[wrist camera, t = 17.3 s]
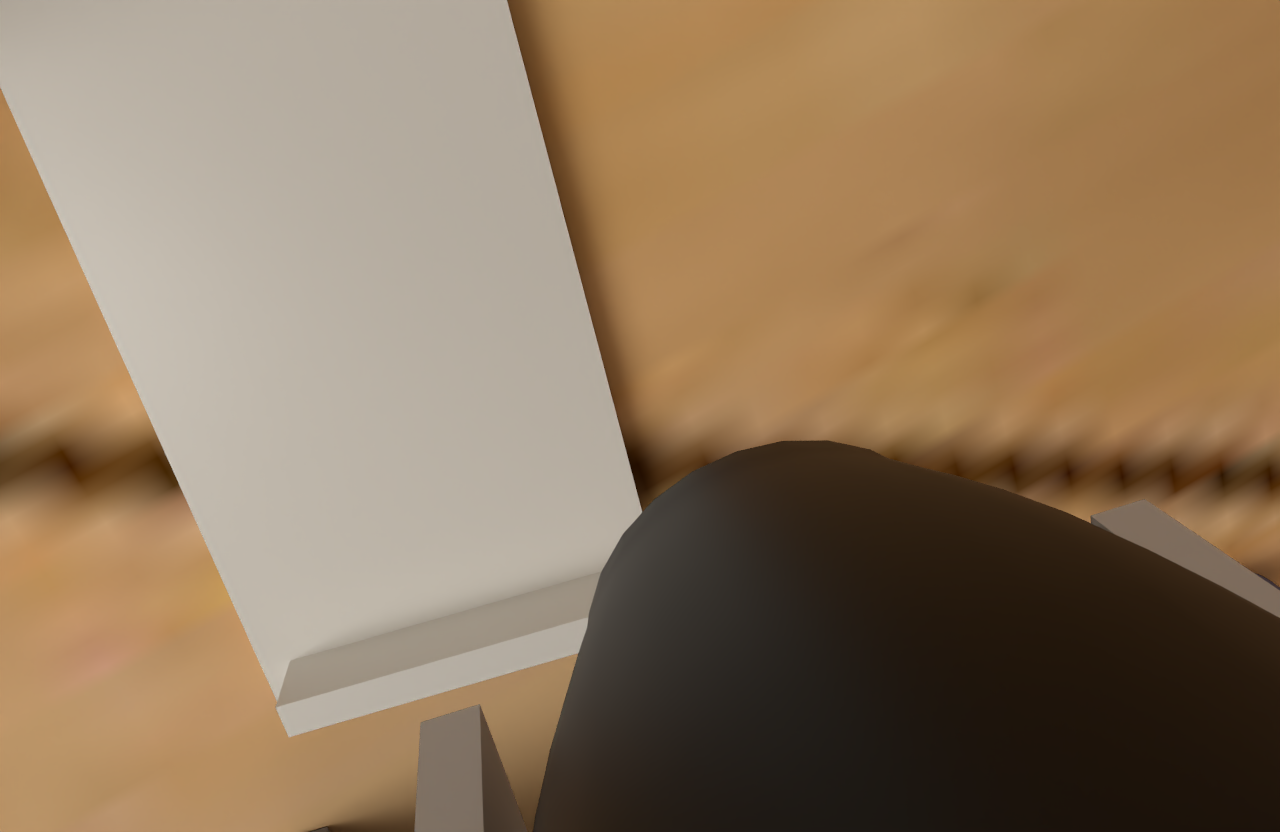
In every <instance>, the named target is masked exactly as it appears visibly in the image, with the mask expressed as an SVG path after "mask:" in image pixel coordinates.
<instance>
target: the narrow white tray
mask: <svg viewBox="0 0 1280 832" xmlns="http://www.w3.org/2000/svg"><path fill="white" fill-rule="evenodd" d="M0 88H1V90H2V92H3V94H4V97H5V99H6V101H7V103H8V105H9V108H10V110H11V112H12V114H13V117H14V119H15V121H16V123H17V125H18V128H19V130H20V132H21V134H22V137H23V139H24V141H25V143H26V145H27V148H28V150H29V152H30V154H31V156H32V159H33V161H34V163H35V165H36V168H37V170H38V172H39V174H40V176H41V179H42V181H43V183H44V185H45V188H46V190H47V192H48V194H49V196H50V199H51V201H52V203H53V205H54V208H55V210H56V212H57V214H58V216H59V219H60V221H61V223H62V225H63V228H64V230H65V232H66V234H67V236H68V239H69V241H70V243H71V245H72V247H73V250H74V252H75V254H76V256H77V259H78V261H79V263H80V265H81V267H82V270H83V272H84V274H85V276H86V279H87V281H88V283H89V285H90V287H91V290H92V292H93V294H94V296H95V299H96V301H97V303H98V305H99V307H100V310H101V312H102V314H103V316H104V319H105V321H106V323H107V325H108V327H109V330H110V332H111V334H112V336H113V338H114V341H115V343H116V345H117V347H118V350H119V352H120V354H121V356H122V358H123V361H124V363H125V365H126V367H127V370H128V372H129V374H130V376H131V378H132V381H133V383H134V385H135V387H136V390H137V392H138V394H139V396H140V398H141V401H142V403H143V405H144V407H145V409H146V412H147V414H148V416H149V418H150V421H151V423H152V425H153V427H154V429H155V432H156V434H157V436H158V438H159V441H160V443H161V445H162V447H163V449H164V452H165V454H166V456H167V458H168V461H169V463H170V465H171V467H172V469H173V472H174V474H175V476H176V478H177V481H178V483H179V485H180V487H181V489H182V492H183V494H184V496H185V498H186V500H187V503H188V505H189V507H190V509H191V512H192V514H193V516H194V518H195V520H196V523H197V525H198V527H199V529H200V532H201V534H202V536H203V538H204V540H205V543H206V545H207V547H208V549H209V552H210V554H211V556H212V558H213V560H214V563H215V565H216V567H217V569H218V572H219V574H220V576H221V578H222V580H223V583H224V585H225V587H226V589H227V591H228V594H229V596H230V598H231V600H232V603H233V605H234V607H235V609H236V611H237V614H238V616H239V618H240V620H241V623H242V625H243V627H244V629H245V631H246V634H247V636H248V638H249V640H250V643H251V645H252V647H253V649H254V651H255V654H256V656H257V658H258V660H259V663H260V665H261V667H262V669H263V671H264V674H265V676H266V678H267V680H268V682H269V685H270V687H271V689H272V691H273V694H274V696H275V698H276V700H277V704H276V710H277V712H278V714H279V716H280V719H281V721H282V723H283V725H284V727H285V730H286V732H287V734H288V736H289V737H292V736H295V735H298V734H302V733H305V732H309V731H312V730H316V729H319V728H323V727H326V726H329V725H333V724H336V723H340V722H343V721H347V720H350V719H353V718H357V717H360V716H364V715H367V714H371V713H374V712H378V711H381V710H384V709H388V708H391V707H395V706H398V705H402V704H405V703H408V702H412V701H415V700H419V699H422V698H426V697H429V696H433V695H436V694H439V693H443V692H446V691H450V690H453V689H457V688H460V687H464V686H467V685H470V684H474V683H477V682H481V681H484V680H488V679H491V678H494V677H498V676H501V675H505V674H508V673H512V672H515V671H519V670H522V669H525V668H529V667H532V666H536V665H539V664H543V663H546V662H549V661H553V660H556V659H560V658H563V657H567V656H570V655H574V654H577V653H579V650H580V647H581V644H582V641H583V638H584V635H585V632H586V629H587V625H588V616H589V611H590V607H591V604H592V601H593V597H594V594H595V591H596V587H597V584H598V580H599V577H600V574H601V571H602V570H603V568H604V566H605V564H606V563H607V561H608V559H609V557H610V556H611V554H612V552H613V550H614V549H615V547H616V545H617V543H618V542H619V540H620V538H621V536H622V535H623V533H624V532H625V531H626V530H627V529H628V528H629V527H630V526H631V524H632V523H633V522H634V521H635V520H636V519H637V518H638V517H639V516H640V514H641V513H642V509H641V506H640V502H639V498H638V494H637V490H636V487H635V483H634V479H633V475H632V471H631V468H630V464H629V460H628V456H627V453H626V449H625V445H624V441H623V437H622V434H621V430H620V426H619V422H618V419H617V415H616V411H615V407H614V403H613V400H612V396H611V392H610V388H609V385H608V381H607V377H606V373H605V369H604V366H603V362H602V358H601V354H600V351H599V347H598V343H597V339H596V335H595V332H594V328H593V324H592V320H591V317H590V313H589V309H588V305H587V301H586V298H585V294H584V290H583V286H582V282H581V279H580V275H579V271H578V267H577V264H576V260H575V256H574V252H573V248H572V245H571V241H570V237H569V233H568V230H567V226H566V222H565V218H564V214H563V211H562V207H561V203H560V199H559V196H558V192H557V188H556V184H555V180H554V177H553V173H552V169H551V165H550V162H549V158H548V154H547V150H546V146H545V143H544V139H543V135H542V131H541V128H540V124H539V120H538V116H537V112H536V109H535V105H534V101H533V97H532V94H531V90H530V86H529V82H528V78H527V75H526V71H525V67H524V63H523V59H522V56H521V52H520V48H519V44H518V41H517V37H516V33H515V29H514V25H513V22H512V18H511V14H510V10H509V7H508V3H507V0H0Z"/></svg>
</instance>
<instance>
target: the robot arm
mask: <svg viewBox="0 0 1280 832" xmlns="http://www.w3.org/2000/svg"><path fill="white" fill-rule="evenodd" d="M1091 524H1093V525H1095V526H1097V527H1100V528H1102V529H1104V530H1106V531H1109V532H1111V533H1113V534H1115V535H1117V536H1120V537H1122V538H1124V539H1126V540H1128V541H1131V542H1133V543H1135V544H1137V545H1139V546H1142V547H1144V548H1146V549H1148V550H1150V551H1152V552H1154V553H1156V554H1158V555H1160V556H1162V557H1164V558H1166V559H1168V560H1170V561H1172V562H1174V563H1176V564H1178V565H1180V566H1182V567H1184V568H1186V569H1188V570H1190V571H1192V572H1194V573H1196V574H1198V575H1200V576H1202V577H1204V578H1206V579H1208V580H1210V581H1212V582H1214V583H1216V584H1218V585H1220V586H1222V587H1224V588H1226V589H1228V590H1230V591H1231V592H1233V593H1235V594H1237V595H1239V596H1241V597H1242V598H1244V599H1246V600H1248V601H1250V602H1252V603H1253V604H1255V605H1257V606H1259V607H1261V608H1263V609H1264V610H1266V611H1268V612H1270V613H1272V614H1274V615H1276V616H1277V617H1279V618H1280V590H1278V589H1277V588H1275V587H1274V586H1272V585H1271V584H1269V583H1268V582H1266V581H1265V580H1263V579H1262V578H1260V577H1259V576H1257V575H1256V574H1255V573H1253V572H1252V571H1250V570H1249V569H1247V568H1246V567H1244V566H1243V565H1241V564H1240V563H1238V562H1237V561H1235V560H1234V559H1232V558H1231V557H1229V556H1228V555H1226V554H1225V553H1224V552H1222V551H1221V550H1219V549H1218V548H1216V547H1215V546H1213V545H1212V544H1210V543H1209V542H1207V541H1206V540H1204V539H1203V538H1201V537H1200V536H1198V535H1197V534H1195V533H1194V532H1193V531H1191V530H1190V529H1188V528H1187V527H1185V526H1184V525H1182V524H1181V523H1179V522H1178V521H1176V520H1175V519H1173V518H1172V517H1170V516H1169V515H1167V514H1166V513H1164V512H1163V511H1161V510H1160V509H1159V508H1157V507H1156V506H1154V505H1153V504H1151V503H1150V502H1148V501H1147V500H1145V499H1144V500H1140V501H1137V502H1134V503H1131V504H1127V505H1124V506H1121V507H1118V508H1114V509H1111V510H1108V511H1105V512H1101V513H1098V514H1095V515H1092V516H1091ZM414 832H528V831H527V829H526V826H525V823H524V821H523V818H522V815H521V813H520V810H519V807H518V805H517V802H516V799H515V797H514V794H513V791H512V789H511V786H510V783H509V781H508V778H507V775H506V773H505V770H504V767H503V765H502V762H501V759H500V757H499V754H498V751H497V749H496V746H495V743H494V741H493V738H492V735H491V733H490V730H489V727H488V725H487V722H486V719H485V717H484V714H483V711H482V709H481V706H480V704H479V705H476V706H472V707H469V708H466V709H463V710H459V711H456V712H453V713H450V714H446V715H443V716H440V717H437V718H433V719H430V720H427V721H424V722H421V726H420V743H419V760H418V778H417V795H416V813H415V830H414Z"/></svg>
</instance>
